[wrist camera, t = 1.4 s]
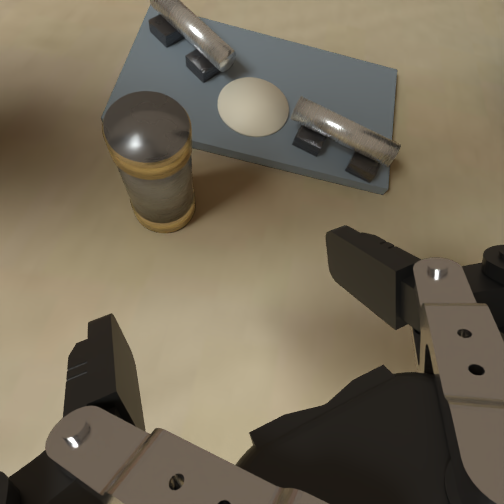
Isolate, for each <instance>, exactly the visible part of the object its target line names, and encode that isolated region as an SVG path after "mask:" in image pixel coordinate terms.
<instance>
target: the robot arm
mask: <svg viewBox="0 0 504 504" xmlns="http://www.w3.org/2000/svg"><path fill="white" fill-rule="evenodd" d="M326 246H327V256H328V265H329V270H330V273H331V275H332V277H333V279H334V280H335V281H336V282H337V283H338V284H339V285H340V286H342V287H343V288H344V289H345V290H347V291H348V292H349V293H350V294H352V295H353V296H354V297H355V298H356V299H358V300H359V301H360V302H361V303H363V304H364V305H365V306H366V307H368V308H369V309H370V310H371V311H373V312H374V313H375V314H376V315H377V316H379V317H380V318H381V319H382V320H384V321H385V322H386V323H387V324H389V325H390V326H391V327H392V328H394V329H395V330H397V329H399V328H401V327H403V326H405V325H407V324H409V325H410V326H412V330H411V335H412V342H413V348H414V355H415V362H416V368H417V372H405V373H396V374H392V373H391V372H390V371H389V370H388V369H387V368H386V367H385V366H384V365H382V366H380V367H378V368H376V369H374V370H372V371H370V372H368V373H366V374H364V375H362V376H360V377H358V378H356V379H354V380H352V381H351V382H350V383H349V384H348V385H347V386H346V387H345V388H344V389H342V390H341V391H340V392H339V393H338V394H337V395H336V396H335V397H334V398H332V399H331V400H330V401H329V402H328V403H327V404H325V405H322V406H318V407H314V408H310V409H306V410H302V411H298V412H293V413H289V414H285V415H283V416H281V417H279V418H277V419H275V420H273V421H271V422H269V423H267V424H265V425H263V426H261V427H259V428H257V429H255V430H253V431H251V432H249V434H250V437H251V440H252V443H253V446H252V447H251V448H250V449H249V450H247V452H246V453H245V454H244V455H243V456H242V457H241V458H240V459H239V461H238V462H237V464H236V465H234V464H232V463H230V462H228V461H226V460H224V459H222V458H220V457H218V456H216V455H214V454H212V453H210V452H208V451H206V450H204V449H202V448H200V447H198V446H196V445H194V444H192V443H190V442H188V441H186V440H184V439H182V438H180V437H178V436H176V435H174V434H172V433H170V432H168V431H166V430H164V429H161V428H156V429H155V430H154V431H153V432H152V433H151V434H149V433H147V432H146V431H145V425H144V418H143V411H142V405H141V398H140V391H139V385H138V378H137V371H136V365H135V361H134V358H133V355H132V352H131V350H130V347H129V345H128V343H127V341H126V339H125V337H124V335H123V333H122V331H121V329H120V327H119V325H118V323H117V321H116V319H115V317H114V315H113V314H112V313H111V314H109V315H106V316H103V317H101V318H98V319H95V320H93V321H90V322H88V339H86V340H84V341H81V342H79V343H76V345H75V347H74V348H73V350H72V352H71V353H70V355H69V357H68V368H67V369H68V371H67V382H66V389H65V400H64V411H63V418H62V419H61V420H60V421H59V422H58V423H57V424H56V425H55V427H54V428H53V429H52V431H51V432H50V434H49V436H48V438H47V441H46V446H45V449H46V450H45V451H43V452H42V453H41V454H40V455H39V456H38V457H36V458H35V459H34V460H32V461H31V462H30V463H28V464H27V465H25V466H24V467H23V468H21V469H20V470H19V471H17V472H16V473H14V474H13V475H12V476H10V477H9V478H8V477H7V476H6V475H5V474H4V473H3V472H0V504H504V245H497V246H492V247H490V248H487V249H486V250H485V251H484V253H483V260H482V263H478V264H473V265H467V266H462V267H461V266H460V265H459V264H458V263H456V262H454V261H452V260H449V259H445V258H426V259H422V260H421V259H419V258H417V257H415V256H413V255H412V254H410V253H408V252H406V251H404V250H402V249H400V248H398V247H394V245H393V244H391V243H389V242H386V241H385V240H383V239H381V238H380V237H378V236H376V235H372V234H367V233H360V232H358V231H356V230H354V229H352V228H351V227H349V226H346V225H345V226H342V227H339V228H337V229H334V230H331V231H329V232H327V233H326Z"/></svg>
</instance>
